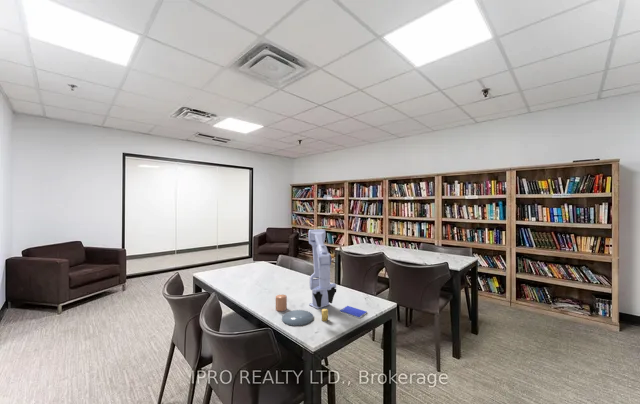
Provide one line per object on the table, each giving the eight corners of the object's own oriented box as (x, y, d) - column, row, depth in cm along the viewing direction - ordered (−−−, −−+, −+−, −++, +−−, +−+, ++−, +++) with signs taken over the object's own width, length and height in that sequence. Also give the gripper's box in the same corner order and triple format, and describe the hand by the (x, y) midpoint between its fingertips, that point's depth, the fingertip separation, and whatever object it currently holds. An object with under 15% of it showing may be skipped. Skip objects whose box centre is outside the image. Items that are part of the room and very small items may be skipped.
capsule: (325, 318, 133) (325, 308, 133) (329, 320, 130) (329, 310, 130) (320, 319, 131) (320, 310, 131) (324, 322, 128) (324, 312, 128)
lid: (301, 309, 144) (301, 307, 144) (319, 319, 132) (319, 317, 132) (276, 317, 133) (276, 315, 133) (293, 329, 121) (293, 327, 121)
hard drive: (339, 310, 140) (359, 316, 132) (347, 305, 146) (367, 311, 138) (339, 313, 140) (359, 319, 132) (348, 308, 146) (367, 314, 138)
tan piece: (283, 305, 149) (282, 293, 149) (288, 309, 144) (288, 296, 144) (273, 308, 145) (273, 296, 145) (279, 312, 140) (279, 299, 141)
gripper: (318, 282, 123) (318, 310, 123) (340, 276, 132) (340, 303, 132) (309, 279, 128) (309, 306, 128) (331, 274, 138) (331, 299, 138)
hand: (324, 304), depth 131 cm, fingers open, 7 cm apart
